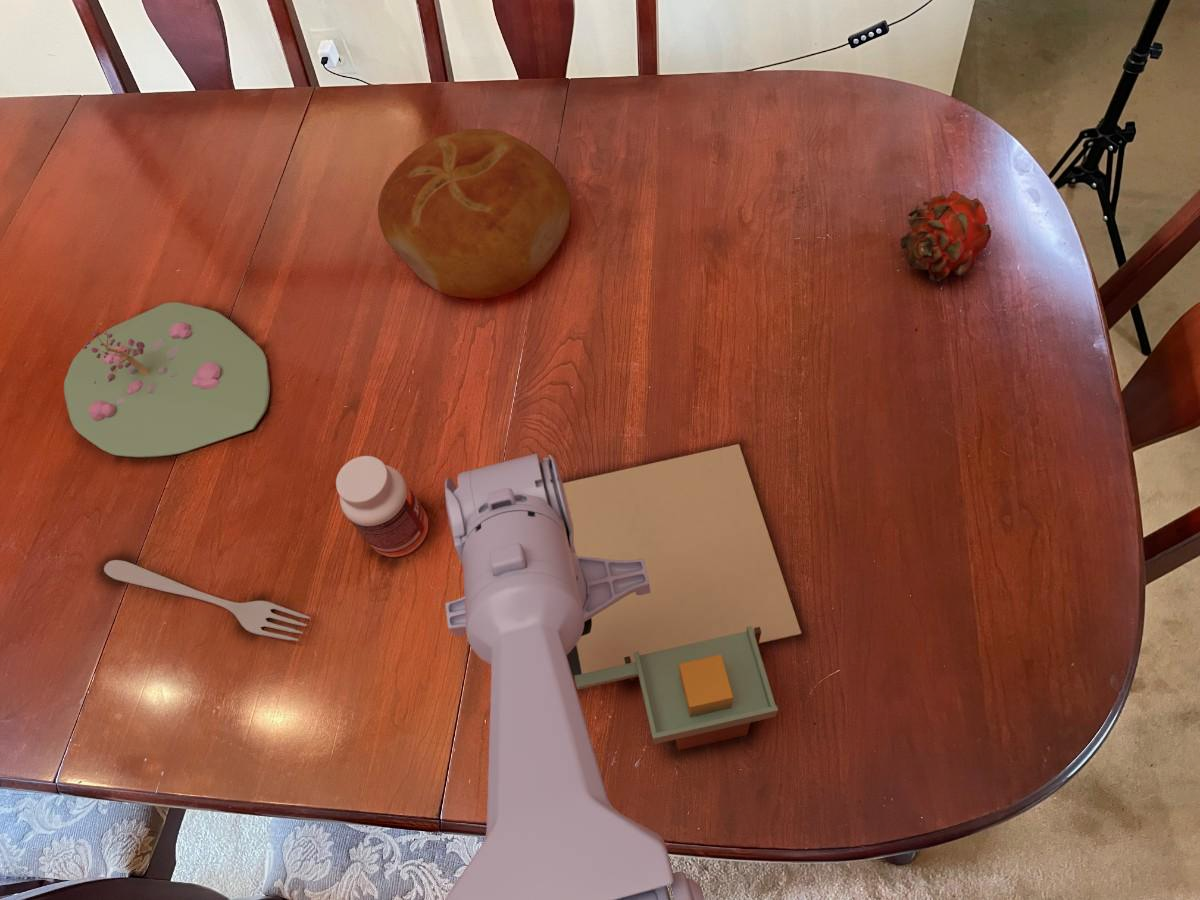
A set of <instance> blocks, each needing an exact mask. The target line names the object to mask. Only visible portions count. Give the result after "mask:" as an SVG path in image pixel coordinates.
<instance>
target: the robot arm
mask: <svg viewBox="0 0 1200 900" xmlns="http://www.w3.org/2000/svg"><path fill="white" fill-rule="evenodd" d="M558 465H559V464H557V462H556V460H555V458H554V457H553V456H552V455H551V454H549V455H548V457H543V458H542V459H541V457H540V455H539V453H538V452H536V453H532V454H529V455H524V456H520V457H516V458H512V459H508V460H505V461H501V462H497V463H493V464H489V465H486V466H482V467H477V468H474V469H469V470H466V471H461V472H459V473H458V474H457V477H456V478H457V481H456V482H457V487H456V484H455V482H454V481H453V480H452V478H450V477H446V478H445V480H444V494H445V495H444V496H445V508H446V514H447V521H448V524H449V528H450V532H451V537H452V539H453V545H454V548H455V551H456V554H457V556H458V559H459V561H460V564H461V566H462V570H463V571H462V573H463V576H462V577H463V592H464V593H463V594H464V595H463V596H462V597H459V598H457V599H454V600H451V601H447V602H445V614H446V623H447V630H448V631H450V633H451V634H452V635H453V636H454V637H455V638H456V637H460V636H466V639H467V642H468V644H469V646H470V648H471V650H472V652H473V653H474V654H475V655H476V656H477V657H478V658H479V659H480V660H482V661H483V662H484V663H486V664H488V665H490V666H491V669H490V704H489V707H490V708H489V734H488V735H489V736H488V737H489V738H488V739H489V740H488V741H489V742H488V770H487V771H488V773H487V801H486V802H487V804H486V829H485V836H484V840H483V842H482V844H481V845H480V846H479V848H478V849H477V851H476V853H475V854H474V855H473V856H472V858H471V860H470V862H469V863H468V864H467V866H466V867H465V869H464V870H463V872H462V873H461V874H460V876H459V877H458V879H457V880H456V882H455V883H454V885H453V886H452V888H451V889H450V891H449V892H448V893H447V895H446V896H445V899H444V900H672V898H671V896H670V892H669V888H668V886H670V887H671V892H672V895H673V900H706V898H705V896H704V893H703V889H702V886H701V885H700V884H699V883H698V882H696V881H695V880H693V879H692V878H688V877H687V875H686V872H684V871H676V872H674V871H673V867H672V863H671V860H670V856H669V852H668V849H667V844H666V842H665V840H664V838H663V836H661V835H660V834H659V833H658V832H656V831H654V830H652V829H650V828H648V827H646V826H645V825H642V824H641V823H639V822H637V821H635V820H634V819H631V818H630V817H628V816H626V815H625V814H623V813H621V812H619V811H618V810H617V809H616V808H615V807H614V806H613V805H612V804H611V801H610V800H609V797H608V794H607V790H606V786H605V783H604V780H603V776H602V773H601V769H600V766H599V763H598V759H597V756H596V752H595V749H594V745H593V742H592V739H591V736H590V731H589V728H588V725H587V722H586V718H585V715H584V711H583V708H582V703H581V701H580V697H579V694H578V689H577V687H576V683H575V679H574V678H573V677H572V673H571V670H570V666H569V663H568V660H567V656H566V655H567V654H568V653H569V652H570V651H571V650H572V649H573V648H574V647H575V645H576V644H577V642H578V641H579V639H580V637H581V636H584V635H586V634H589V633H590V631H591V627H592V620H591V618H592V617H593V616H595V615H596V614H598V613H600V612H601V611H603V610H604V609H606V608H608V607H609V606H611V605H613V604H614V603H616V602H617V601H619V600H621V599H622V598H624V597H626V596H627V595H629V594H631V593H633V592H635V593H636V594H637V595H644V594H648V593H650V584H649V579H648V575H647V571H646V567H645V563H644V559H637V560H630V561H619V560H608V559H599V558H590V557H581V556H577V554H576V551H575V547H574V527H573V522H572V518H571V513H570V509H569V505H568V501H567V497H566V493H565V489H564V486H563V483H564V482H563V478H562V475H561V471H560V469H559V466H558Z"/></svg>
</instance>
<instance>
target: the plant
mask: <svg viewBox="0 0 1200 900" xmlns="http://www.w3.org/2000/svg"><path fill="white" fill-rule="evenodd" d="M99 334H100V333H99V332H98V331H96V332H94V333H93V334H92V338H94V339H93V340H88V341H86V342H85V345H84V346H83V347H82V348H81V350H80V351H79V352H78V353H77V354H76V355H75V356H74V358H73V359H72V361H71V363H70V366H69V368H68V370H67V373H66V375H65V378H64V383H63V394H64V399H65V403H66V409H67V412H68V417H69V420H70V423H71V425H72V427H73V428H74V430H76V431H77V433H78V434H79V435H81V436H82V437H83V438H84V439H86V440H87V441H88V442H90V443H91V444H93V445H94V446H95V447H97V448H98V449H100V450H102V451H104V452H106V453H108V454H110V455H113V456H117V457H123V458H124V457H126V458H139V459H140V458H158V457H159V458H160V457H169V456H175V455H181V454H184V453H188V452H191V451H194V450H197V449H200V448H203V447H206V446H209V445H211V444H214V443H217V442H221V441H223V440H227V439H230V438H232V437H236V436H239V435H241V434H244V433H247V432H250V431H253V430H255V428H256V427H257V425H258V424H259V422H260V421H261V419H262V418H263V416H264V415H265V413H266V411H267V408H268V406H269V403H270V402H269V401H270V396H271V395H270V394H271V381H270V374H269V364H268V359H267V356H266V353H265V352H264V350H263V349H262V348H261V347H260V346H259V344H257V343H256V342H255V341H254V340H253V339H252V338H251V337H250V336H249V335H247V334H246V333H245V332H244V331H242V330H241V329H240V328H239V327H238V326H237V325H236V324H235V323H233V322H232V321H231V320H230V319H228V318H227V317H226V316H225V315H223V314H221V313H220V312H218V311H215V310H212V309H209V308H206V307H201V306H197V305H192V304H189V303H183V302H180V301H179V302H165V303H161V304H159V305H157V306H155V307H153V308H151V309H148V310H147V311H146V310H145V311H143V312H142V313H140V314H137V315H135V316H133V317H131V318H128V319H126V320H125V321H122V322H119V323H118V324H115V325H113V326H112V327H110V328H108V329H107V330H105V331H103V333H101V334H100V335H99Z"/></svg>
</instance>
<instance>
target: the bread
mask: <svg viewBox="0 0 1200 900" xmlns="http://www.w3.org/2000/svg"><path fill="white" fill-rule="evenodd" d="M571 211H572V202H571V196H570V191H569V189H568V185H567V183H566V181H565V179H564V177H563V176H562V174H561V172H560V171H559V170H558V169H557V167H556V166H555V165H554V164H553V163H552V162H551V161H550V159H548V158H547V157H546V156H545V155H543V153H541V152H540V151H539V150H538V149H536V148H535V147H534V146H532V145H530V144H528V143H527V142H525V141H524V140H522V139H521V138H518V137H517V136H514V135H512V134H509V133H507V132H505V131H502V130H499V129H492V128H466V129H461V130H458V131H454V132H452V133H447V134H443V135H440V136H437V137H435V138H433V139H431V140H429V141H427V142H425V143H423V144H422V145H420V146H419V147H417V148H415V150H413V151H411V153H410V154H408V155H407V156H406V157H405V158H404V159H403V160H402V161H401V162H400V163H398V165H397V166H396V167H395V169H394V170H393V171H392V173H390V175H389V176H388V178H387V180H386V181H385V183H384V185H383V187H382V188H381V191H380V193H379V196H378V203H377V217H378V223H379V227H380V229H381V233H382V235H383V238H384V240H385V241H386V243H388V245H389V246H390V248H391V249H393V250H394V252H395V253H396V254H397V255H398V257H400V258H401V259H402V261H403V262H404V263H405V264H406V266H408V267H409V268H410V269H411V270H412V272H413V273H414V274H415V275H416V276H417V277H418V278H419V279H420V280H422V281H423V282H424V283H425V284H427V285H428V286H429V287H431V288H432V289H434V290H435V291H437V292H439V293H441V294H444V295H447V296H451V297H455V298H456V297H457V298H465V299H475V300H476V299H477V300H478V299H490V298H494V297H497V296H498V297H499V296H501V295H505V294H508V293H512V292H513V291H516V290H517V289H519V288H521V287H523V286H524V285H526V284H528V283H530V281H531V280H533V279H534V278H535V277H536V276H537V275H538V274H539V273H540V272H541V271H542V269H543V268H544V267H545V266H546V265H547V264H548V263H549V261H550V260H551V258H553V256H554V255H555V253H556V252H557V250H558V248H559V246H560V245H561V243H562V242H563V239H564V237H565V235H566V233H567V231H568V229H569V225H570V221H571V213H572V212H571Z"/></svg>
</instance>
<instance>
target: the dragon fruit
mask: <svg viewBox="0 0 1200 900" xmlns="http://www.w3.org/2000/svg"><path fill="white" fill-rule="evenodd" d="M922 205H923V206H926V207H927V208H921V209H919V207H920V205H916V206H914V207H913V208H912V209H911V210H910V212H909V213H908V214H907V216H908V217H909V218H908V224H909V226H910V228H911V230H909V232H907V233H906V234H905V235H904V236H902V237H901V238H900V240H899V241H900V244H899V245H900V248H901V249H902V250H905V249H906V250H907V251H908V252H909V254H908V260H907V263H908V265H909V267H910V268H911V269H916V270H920V271H928V275H929V276H928V280H931V281H933V282H936V283H938V282H940V281H941V280H944V279H945V278H947V276H949V274H950V273H951V271H953V272H954V275H956V276H963V275H965V274H967V272H968V270H969V269H970V268H972V267H973V266H974V264H975V260H976V258H977V256H978V255H979V254H980V253H982V252H983V251H984V249H986V248H987V246H988V244H989V241H990V240H991V237H992V230H991V226H990V224H987V222H988V219H989V218H988V215H987V212H986V209H985V207H984V204H983V202H981V201H980V199H978V198H977V197H976V198H974V199H970V198H969V197H967V196H965V194H961V193H959V192H958V191H956V190H952V191H951V192H950V193H949V195H948V196H947V197H946V194H941V195H937V196H933V197H932V198H930V199H929V201H923V202H922Z"/></svg>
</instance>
